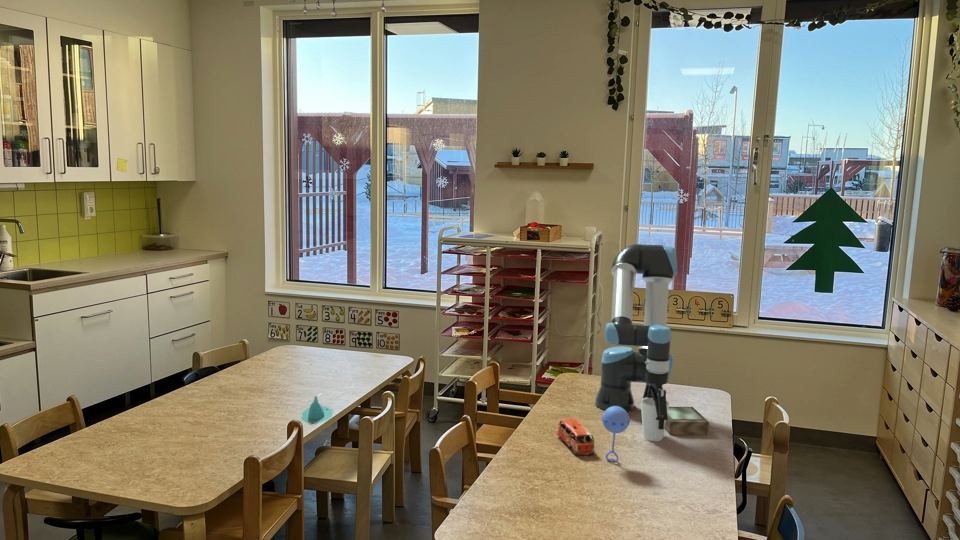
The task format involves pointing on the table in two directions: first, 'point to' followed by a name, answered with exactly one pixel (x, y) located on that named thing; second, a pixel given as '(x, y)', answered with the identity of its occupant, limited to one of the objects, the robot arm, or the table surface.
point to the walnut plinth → (685, 422)
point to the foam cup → (649, 418)
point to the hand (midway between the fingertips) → (653, 430)
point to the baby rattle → (615, 423)
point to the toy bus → (576, 436)
